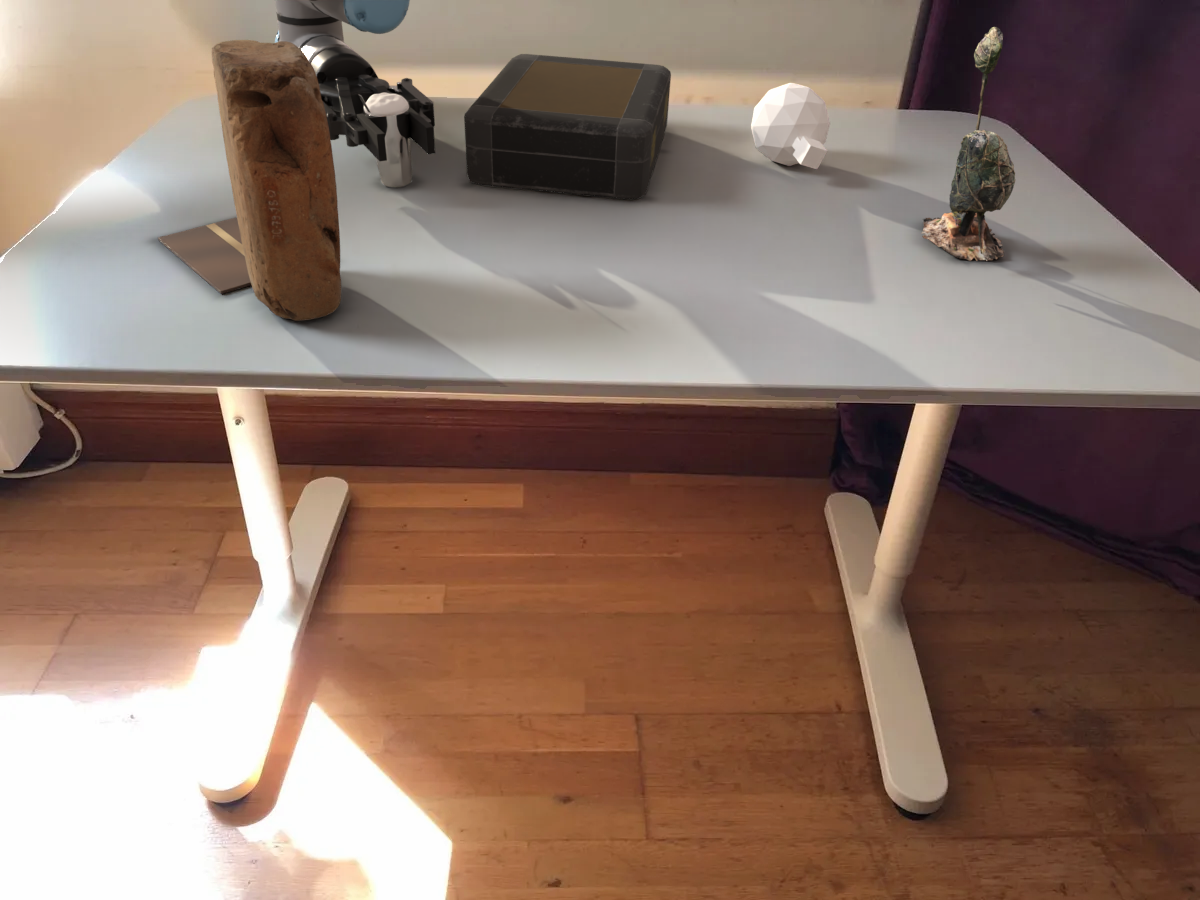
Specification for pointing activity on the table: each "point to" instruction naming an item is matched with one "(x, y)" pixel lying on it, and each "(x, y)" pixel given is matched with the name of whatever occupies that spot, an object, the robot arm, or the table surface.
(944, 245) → the plant with pod
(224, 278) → the brown rectangular board
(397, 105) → the milkshake
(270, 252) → the block
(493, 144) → the cash box
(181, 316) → the table surface
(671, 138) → the table surface
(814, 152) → the perfume bottle
